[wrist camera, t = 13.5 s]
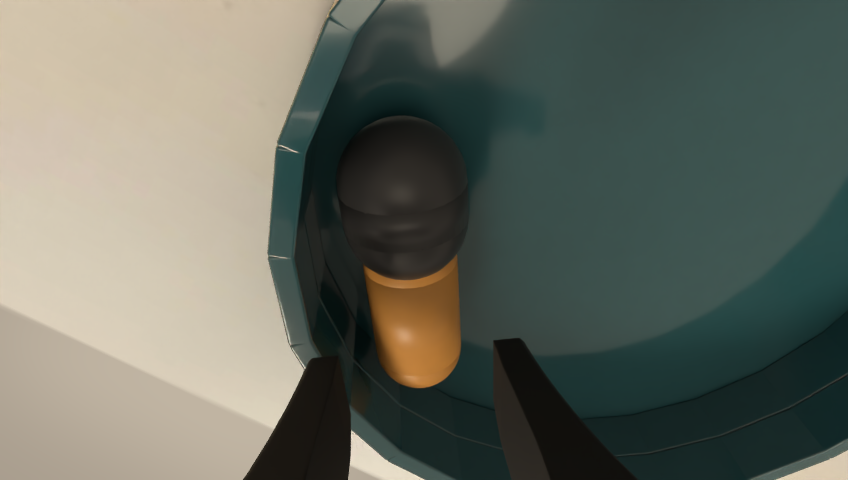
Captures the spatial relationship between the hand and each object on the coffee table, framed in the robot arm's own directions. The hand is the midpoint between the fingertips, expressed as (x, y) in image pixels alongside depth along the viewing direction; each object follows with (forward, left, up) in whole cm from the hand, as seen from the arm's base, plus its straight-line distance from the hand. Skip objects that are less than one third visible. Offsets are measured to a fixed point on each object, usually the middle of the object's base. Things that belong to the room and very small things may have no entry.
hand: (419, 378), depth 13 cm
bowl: (+6, -4, -5) cm, 9 cm away
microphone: (0, 0, -4) cm, 4 cm away
